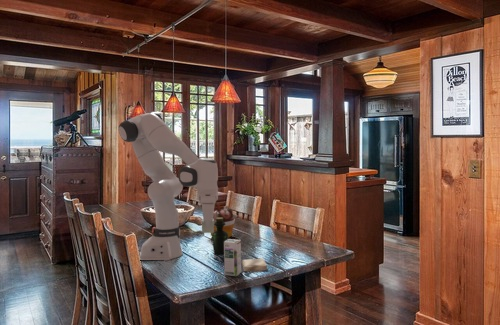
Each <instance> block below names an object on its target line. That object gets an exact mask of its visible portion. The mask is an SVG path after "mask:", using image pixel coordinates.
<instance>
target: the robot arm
mask: <svg viewBox="0 0 500 325" xmlns="http://www.w3.org/2000/svg"><path fill="white" fill-rule="evenodd" d="M118 133H119V136H120V138H121V139H122V140H123V141H124V142H126V143H131V146H132V149H133V152H134V155H135V157H136V159H137V161H138V163H139V165H140V167H141V169H142V170H143V172H144V174H145V175H146V176H148V177H149V178H150V179H151V180H152V181H153V182H151V184H149V185H148V187H147V195H148V198H149V199H150V200H151V202H152V205H153V207H154V208H153V209H154V213H155V226H153V227H152V229H151V234H152V236H150V237H149V238H148V239H146V240H145V241H144V242H142V245H141V249H140V250H141V251H139V252H138V253H140V258H141V260H164V261H165V262H166V261H170V260H172V259H175V258H180V257H181V256H183V254H184V253H183V250H182V246H181V239H180V237H181V229H180V228H181V226H179V210H178V209H177V207H176V204H175V199H174V198H177V197H178V196H179V195H180V194H181V193H182V191H183V188H184V187H187V188H192V187H196V189H197V192H196V193H197V194H196V195H197V197H196V199H197V201H199V204H201V211H202V219H204V221H205V223H206V229H207V230H209V229H210V221H212V220H213V214H214V205H215V206H216V204H217V203H216V202H217V201H218V200H219V187H218V181H219V169H218V164H217V160H215V159H214V158H210V157H199V156H198V155H197V154H196V153H195V152H194V151H193V149H192V148H191V147H190V146H188V144H186V143H185V142H184V141H183V140H182V139H180V137H178V136H177V134H175V133H174V132H173V130H172V129H170V127H169V126H168V125H167V123H166V122H165V121H164V119H163V117H162V116H161V114H160V113H159V112H156V111H149V112H147V113H142V114H138V115H136V116H134V117H131V118H129V119H125V120H123V121H122V122H120V123H119V125H118ZM161 153H166V154H170V155H174V156H176V157H178V158H180V159H181V160H182V161H183V162H184V163H185V164H186V165H184V166H182V167H181V168H179V171H178V173H177V174H178V175H177V176H176V175H175V173H174V172H173V171H172V170H171V168H170V167H169V166H168V165H167V164H166V162H165V160H164V158H163V156H162V154H161ZM164 261H163V262H164Z"/></svg>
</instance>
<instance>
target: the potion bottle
mask: <svg viewBox="0 0 500 325" xmlns="http://www.w3.org/2000/svg"><path fill="white" fill-rule="evenodd" d="M224 225H226V224H225V222H223V218H222V217H218V218H216V222H215V223H214V226H216V228H217V231H215V232H214V233H213V234H212V236H211V240H212V246H213V247H212V248H213V254H214V255H216V256H224V242H225V241H226V240H228V239H229V238H228V233H227V232H225V231H223V226H224Z"/></svg>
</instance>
